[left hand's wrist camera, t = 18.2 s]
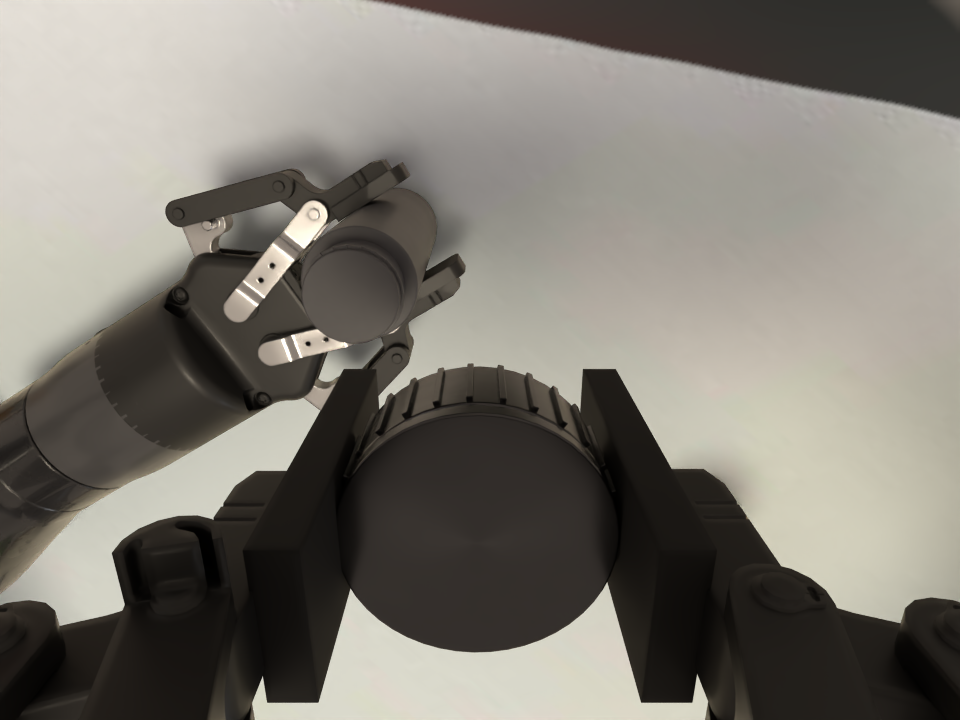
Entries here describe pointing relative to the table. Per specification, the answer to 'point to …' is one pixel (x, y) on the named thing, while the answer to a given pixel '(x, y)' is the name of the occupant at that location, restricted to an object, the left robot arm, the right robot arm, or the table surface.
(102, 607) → the table surface
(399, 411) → the lid
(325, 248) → the gray cylindrical bottle
